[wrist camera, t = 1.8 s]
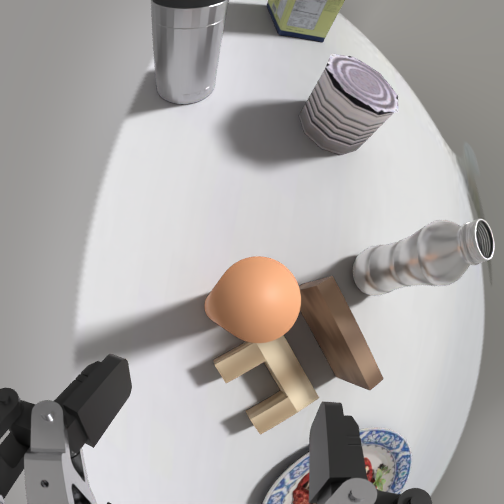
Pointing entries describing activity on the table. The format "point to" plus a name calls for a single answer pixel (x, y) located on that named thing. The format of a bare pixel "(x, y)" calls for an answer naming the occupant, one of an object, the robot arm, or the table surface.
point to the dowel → (255, 300)
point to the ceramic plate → (376, 463)
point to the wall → (338, 333)
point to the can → (347, 105)
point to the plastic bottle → (424, 257)
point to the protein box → (304, 17)
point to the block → (282, 370)
